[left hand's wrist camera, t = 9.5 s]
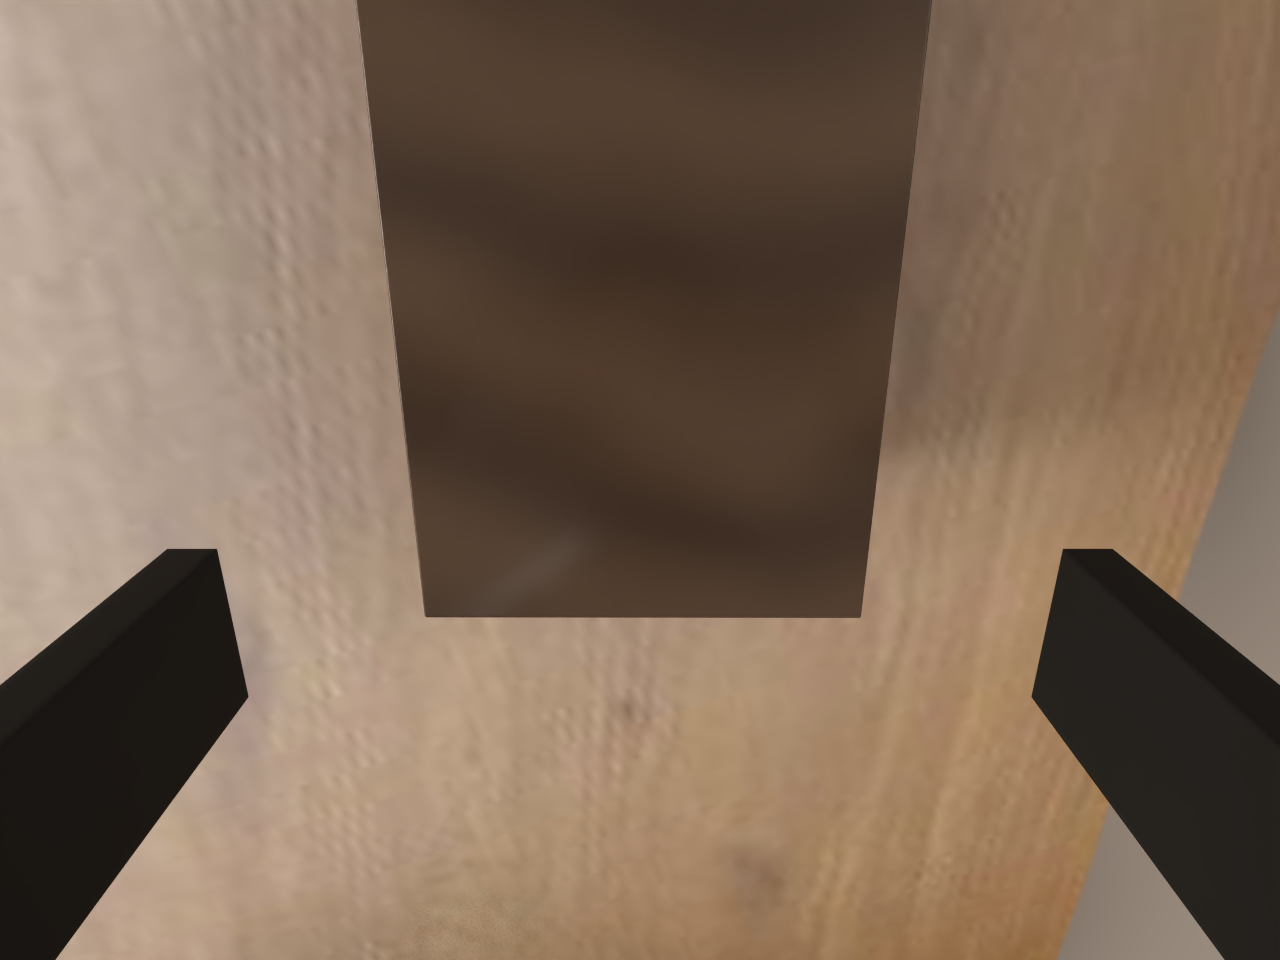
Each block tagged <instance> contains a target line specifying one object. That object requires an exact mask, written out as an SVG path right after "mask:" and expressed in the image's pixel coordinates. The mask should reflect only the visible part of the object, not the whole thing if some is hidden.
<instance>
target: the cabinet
mask: <svg viewBox="0 0 1280 960" xmlns="http://www.w3.org/2000/svg"><path fill="white" fill-rule="evenodd" d="M355 1H356V10H357V19H358V28H359V37H360V46H361V55H362V63H363V72H364V81H365V90H366V99H367V108H368V116H369V125H370V134H371V143H372V152H373V161H374V170H375V178H376V187H377V196H378V205H379V214H380V223H381V231H382V240H383V249H384V258H385V267H386V276H387V285H388V293H389V302H390V311H391V320H392V329H393V338H394V346H395V355H396V364H397V373H398V382H399V391H400V400H401V408H402V417H403V426H404V435H405V444H406V453H407V461H408V470H409V479H410V488H411V497H412V506H413V515H414V523H415V532H416V541H417V550H418V559H419V568H420V576H421V585H422V594H423V603H424V612H425V617H679V618H860V617H861V611H862V602H863V593H864V585H865V576H866V567H867V559H868V550H869V541H870V533H871V524H872V515H873V507H874V498H875V490H876V481H877V472H878V464H879V455H880V446H881V438H882V429H883V420H884V412H885V403H886V394H887V386H888V377H889V368H890V360H891V351H892V342H893V334H894V325H895V316H896V308H897V299H898V291H899V282H900V273H901V265H902V256H903V247H904V239H905V230H906V221H907V213H908V204H909V195H910V187H911V178H912V169H913V161H914V152H915V143H916V135H917V126H918V118H919V109H920V100H921V92H922V83H923V74H924V66H925V57H926V48H927V40H928V31H929V22H930V14H931V5H932V0H355Z"/></svg>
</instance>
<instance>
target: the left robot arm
mask: <svg viewBox="0 0 1280 960" xmlns="http://www.w3.org/2000/svg"><path fill="white" fill-rule="evenodd" d="M247 698H248V692H247V688H246V683H245V678H244V674H243V669H242V664H241V659H240V655H239V650H238V645H237V641H236V636H235V631H234V627H233V622H232V617H231V613H230V608H229V603H228V599H227V594H226V589H225V585H224V580H223V575H222V571H221V566H220V561H219V557H218V552H217V549H167V550H166V551H164V552H163V553H162V554H161V555H159V556H158V557H157V558H156V559H155V560H153V561H152V562H151V563H150V564H148V565H147V566H146V567H145V568H144V569H142V570H141V571H140V572H139V573H137V574H136V575H135V576H134V577H132V578H131V579H130V580H129V581H128V582H126V583H125V584H124V585H123V586H121V587H120V588H119V589H118V590H117V591H115V592H114V593H113V594H112V595H110V596H109V597H108V598H107V599H105V600H104V601H103V602H102V603H101V604H99V605H98V606H97V607H96V608H94V609H93V610H92V611H91V612H89V613H88V614H87V615H86V616H85V617H83V618H82V619H81V620H80V621H78V622H77V623H76V624H75V625H74V626H72V627H71V628H70V629H69V630H67V631H66V632H65V633H64V634H62V635H61V636H60V637H59V638H58V639H56V640H55V641H54V642H53V643H51V644H50V645H49V646H48V647H47V648H45V649H44V650H43V651H42V652H40V653H39V654H38V655H37V656H35V657H34V658H33V659H32V660H31V661H29V662H28V663H27V664H26V665H24V666H23V667H22V668H21V669H19V670H18V671H17V672H16V673H15V674H13V675H12V676H11V677H10V678H8V679H7V680H6V681H5V682H4V683H2V684H1V685H0V960H56V958H57V957H58V955H59V954H60V953H61V951H62V950H63V949H64V947H65V946H66V945H67V943H68V942H69V940H70V939H71V938H72V936H73V935H74V934H75V932H76V931H77V930H78V928H79V927H80V926H81V924H82V923H83V921H84V920H85V919H86V917H87V916H88V915H89V913H90V912H91V911H92V909H93V908H94V906H95V905H96V904H97V902H98V901H99V900H100V898H101V897H102V896H103V894H104V893H105V891H106V890H107V889H108V887H109V886H110V885H111V883H112V882H113V881H114V879H115V878H116V877H117V875H118V874H119V872H120V871H121V870H122V868H123V867H124V866H125V864H126V863H127V862H128V860H129V859H130V857H131V856H132V855H133V853H134V852H135V851H136V849H137V848H138V847H139V845H140V844H141V843H142V841H143V840H144V838H145V837H146V836H147V834H148V833H149V832H150V830H151V829H152V828H153V826H154V825H155V823H156V822H157V821H158V819H159V818H160V817H161V815H162V814H163V813H164V811H165V810H166V808H167V807H168V806H169V804H170V803H171V802H172V800H173V799H174V798H175V796H176V795H177V794H178V792H179V791H180V789H181V788H182V787H183V785H184V784H185V783H186V781H187V780H188V779H189V777H190V776H191V774H192V773H193V772H194V770H195V769H196V768H197V766H198V765H199V764H200V762H201V761H202V760H203V758H204V757H205V755H206V754H207V753H208V751H209V750H210V749H211V747H212V746H213V745H214V743H215V742H216V740H217V739H218V738H219V736H220V735H221V734H222V732H223V731H224V730H225V728H226V727H227V725H228V724H229V723H230V721H231V720H232V719H233V717H234V716H235V715H236V713H237V712H238V711H239V709H240V708H241V706H242V705H243V704H244V702H245V701H246V700H247ZM1032 698H1033V700H1034V701H1035V702H1036V704H1037V705H1038V706H1039V708H1040V709H1041V711H1042V712H1043V713H1044V715H1045V716H1046V717H1047V719H1048V720H1049V721H1050V723H1051V724H1052V725H1053V727H1054V728H1055V730H1056V731H1057V732H1058V734H1059V735H1060V736H1061V738H1062V739H1063V740H1064V742H1065V743H1066V745H1067V746H1068V747H1069V749H1070V750H1071V751H1072V753H1073V754H1074V755H1075V757H1076V758H1077V760H1078V761H1079V762H1080V764H1081V765H1082V766H1083V768H1084V769H1085V770H1086V772H1087V773H1088V774H1089V776H1090V777H1091V779H1092V780H1093V781H1094V783H1095V784H1096V785H1097V787H1098V788H1099V789H1100V791H1101V792H1102V794H1103V795H1104V796H1105V798H1106V799H1107V800H1108V802H1109V803H1110V804H1111V806H1112V807H1113V808H1114V810H1115V811H1116V813H1117V814H1118V815H1119V817H1120V818H1121V819H1122V821H1123V822H1124V823H1125V825H1126V826H1127V828H1128V829H1129V830H1130V832H1131V833H1132V834H1133V836H1134V837H1135V838H1136V840H1137V841H1138V842H1139V844H1140V845H1141V847H1142V848H1143V849H1144V851H1145V852H1146V853H1147V855H1148V856H1149V857H1150V859H1151V860H1152V862H1153V863H1154V864H1155V866H1156V867H1157V868H1158V870H1159V871H1160V872H1161V874H1162V875H1163V877H1164V878H1165V879H1166V881H1167V882H1168V883H1169V885H1170V886H1171V887H1172V889H1173V890H1174V891H1175V893H1176V894H1177V896H1178V897H1179V898H1180V900H1181V901H1182V902H1183V904H1184V905H1185V906H1186V908H1187V909H1188V911H1189V912H1190V913H1191V915H1192V916H1193V917H1194V919H1195V920H1196V921H1197V923H1198V924H1199V926H1200V927H1201V928H1202V930H1203V931H1204V932H1205V934H1206V935H1207V936H1208V938H1209V939H1210V940H1211V942H1212V943H1213V944H1214V946H1215V947H1216V949H1217V950H1218V951H1219V953H1220V954H1221V955H1222V957H1223V958H1224V959H1225V960H1280V685H1279V684H1278V683H1276V682H1275V681H1274V680H1273V679H1272V678H1270V677H1269V676H1268V675H1267V674H1265V673H1264V672H1263V671H1262V670H1260V669H1259V668H1258V667H1257V666H1256V665H1254V664H1253V663H1252V662H1251V661H1249V660H1248V659H1247V658H1246V657H1245V656H1243V655H1242V654H1241V653H1239V652H1238V651H1237V650H1236V649H1235V648H1233V647H1232V646H1231V645H1230V644H1229V643H1227V642H1226V641H1225V640H1224V639H1222V638H1221V637H1220V636H1219V635H1218V634H1216V633H1215V632H1214V631H1213V630H1211V629H1210V628H1209V627H1208V626H1206V625H1205V624H1204V623H1203V622H1202V621H1200V620H1199V619H1198V618H1197V617H1195V616H1194V615H1193V614H1192V613H1191V612H1189V611H1188V610H1187V609H1186V608H1184V607H1183V606H1182V605H1181V604H1179V603H1178V602H1177V601H1176V600H1175V599H1173V598H1172V597H1171V596H1170V595H1168V594H1167V593H1166V592H1165V591H1163V590H1162V589H1161V588H1160V587H1159V586H1157V585H1156V584H1155V583H1154V582H1152V581H1151V580H1150V579H1149V578H1148V577H1146V576H1145V575H1144V574H1143V573H1141V572H1140V571H1139V570H1138V569H1136V568H1135V567H1134V566H1133V565H1132V564H1130V563H1129V562H1128V561H1127V560H1125V559H1124V558H1123V557H1122V556H1121V555H1119V554H1118V553H1117V552H1116V551H1114V550H1113V549H1063V552H1062V557H1061V561H1060V566H1059V571H1058V575H1057V580H1056V585H1055V589H1054V594H1053V599H1052V603H1051V608H1050V613H1049V617H1048V622H1047V627H1046V631H1045V636H1044V641H1043V645H1042V650H1041V655H1040V659H1039V664H1038V669H1037V674H1036V678H1035V683H1034V688H1033V692H1032Z"/></svg>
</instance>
